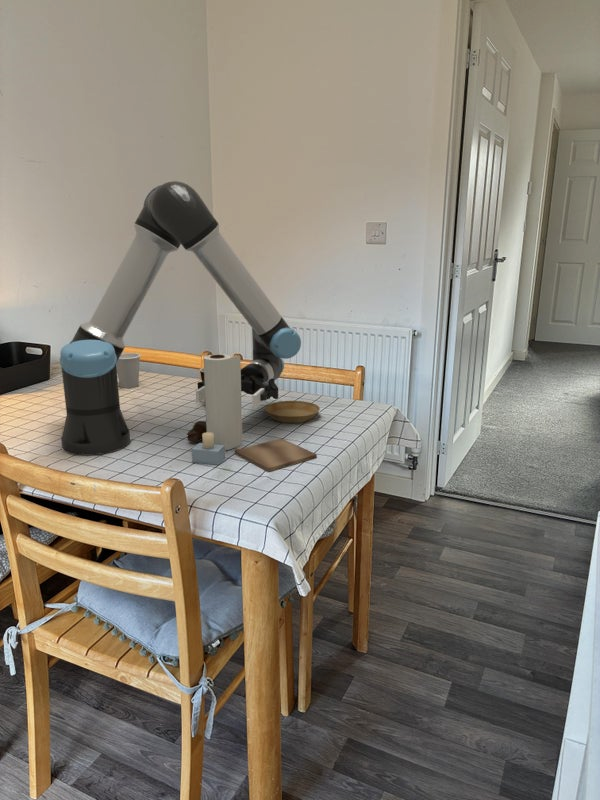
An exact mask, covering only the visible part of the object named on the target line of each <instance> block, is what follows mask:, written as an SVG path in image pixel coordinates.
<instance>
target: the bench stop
mask: <svg viewBox="0 0 600 800" xmlns="http://www.w3.org/2000/svg"><path fill="white" fill-rule="evenodd" d="M202 439H203V440H202V442H199V443H197V444H196V445H195V446H193V448H191V457H192V458H191V459H192V463H199V464H207V465H215V466H219V465H220V464H221V463H222V462H223V461H224V460H225V459H226V450H225V445H217V444H214V433H212V432H205V433H203V434H202Z"/></svg>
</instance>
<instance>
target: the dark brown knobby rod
mask: <svg viewBox="0 0 600 800" xmlns="http://www.w3.org/2000/svg"><path fill="white" fill-rule="evenodd" d="M205 432H207V426H206V420H198V421H195V423H194V425H192V428H191V429H190V430H188V431H187V433H186V437H187V438H186V439H187V441H189V442H190V443H193V444H195V443H198V442H199V441H203V439H202V434H203V433H205Z"/></svg>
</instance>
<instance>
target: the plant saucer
mask: <svg viewBox="0 0 600 800" xmlns="http://www.w3.org/2000/svg"><path fill="white" fill-rule="evenodd" d="M320 410H321V407H320V406H319V405H318V404H315V403H313V402H309V401H303V400H284V401H283V400H282V401H281V400H280V401H276V402H272V403H270V404H268V405H266V406H265V407H264V411H265V412H266V413H267V414H268V415H269V416H270V418H272V419H273V420H275V421H278V422H280V421H281V422H282V423H292V424H294V423H296V422H297V423H303V422H307V421H311V420H312V419H313V418H314V417H316V416H317V414H318V413H319V411H320Z"/></svg>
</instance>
